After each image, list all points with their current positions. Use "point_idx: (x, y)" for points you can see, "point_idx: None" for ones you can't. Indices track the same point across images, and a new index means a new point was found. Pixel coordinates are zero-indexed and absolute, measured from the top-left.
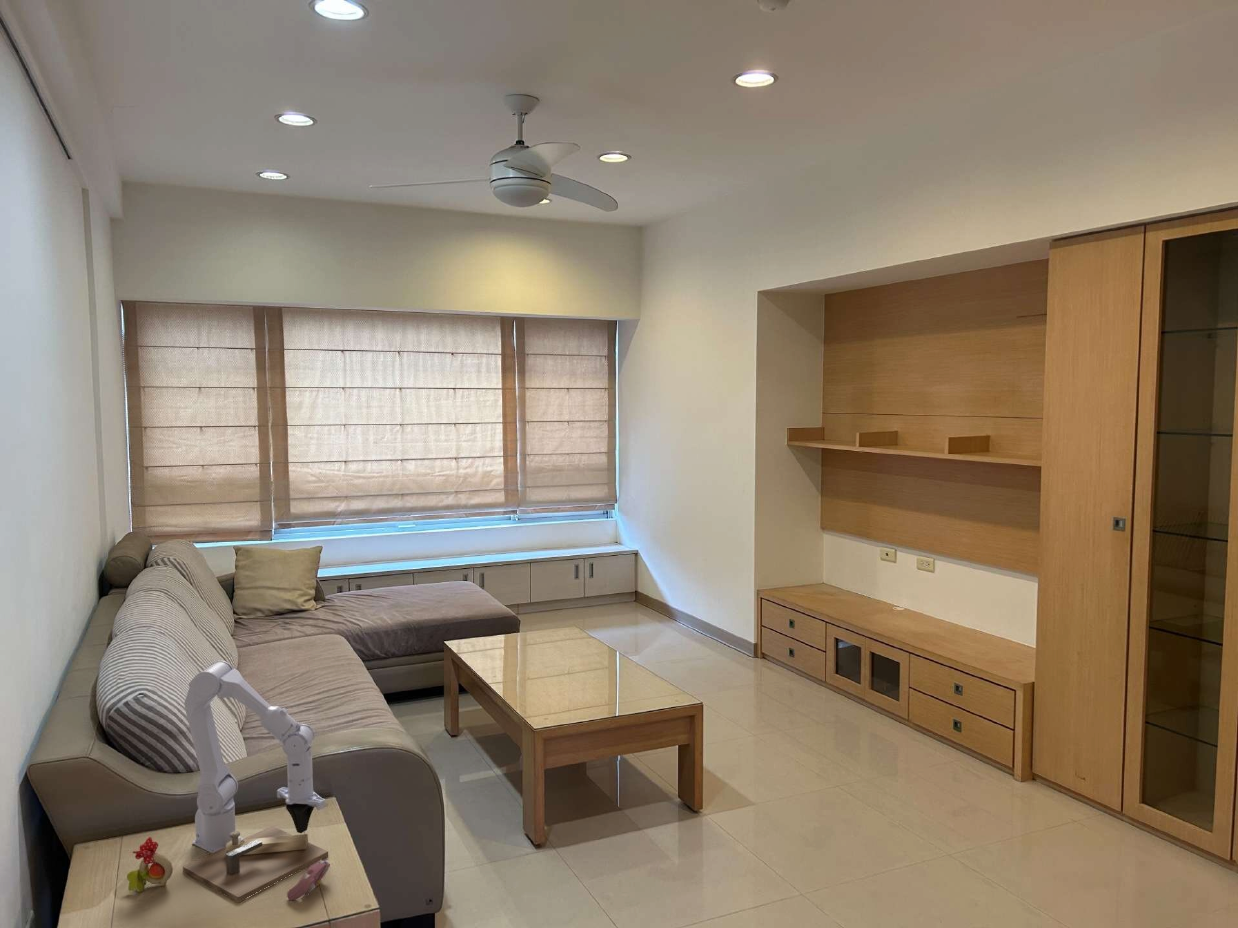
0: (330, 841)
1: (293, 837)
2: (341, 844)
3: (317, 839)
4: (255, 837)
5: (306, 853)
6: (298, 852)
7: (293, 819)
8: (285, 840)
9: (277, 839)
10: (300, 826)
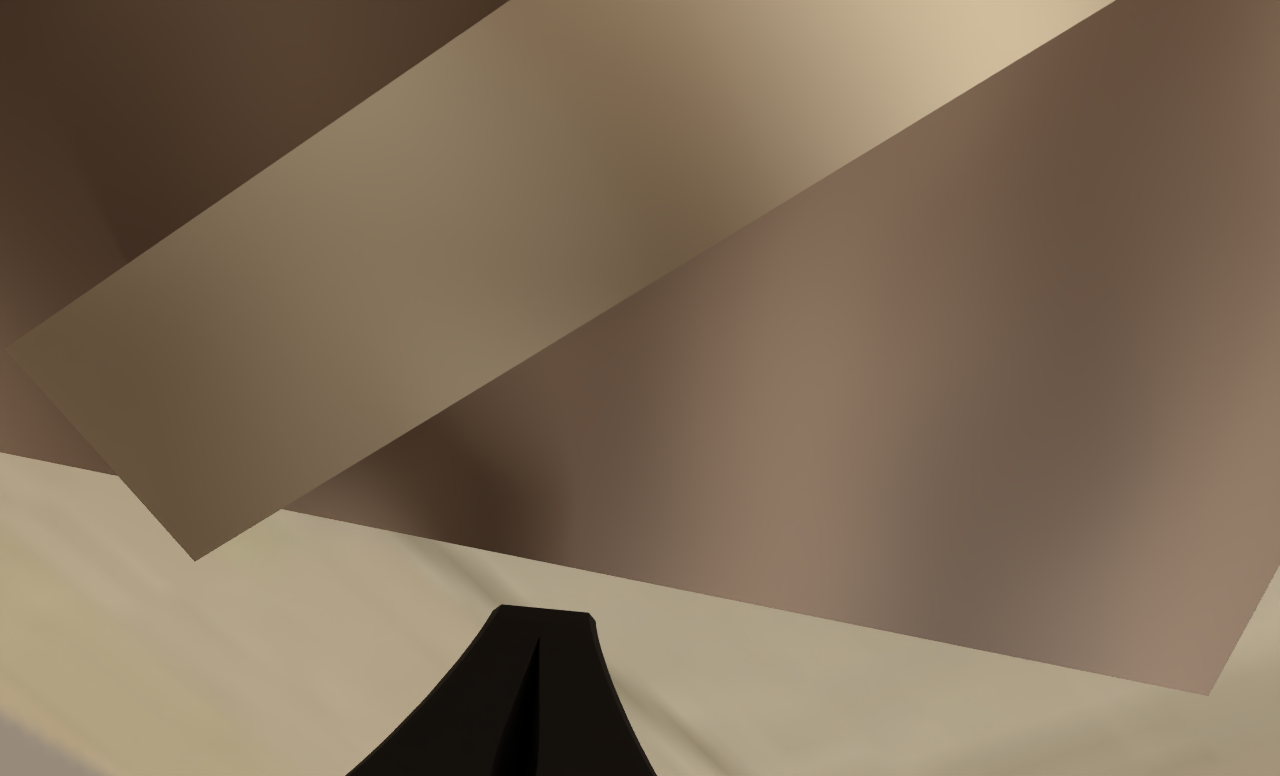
0: (202, 691)
1: (340, 340)
2: (4, 682)
3: (404, 673)
4: (1270, 342)
5: (56, 225)
6: (213, 204)
7: (616, 761)
8: (406, 173)
9: (609, 136)
10: (447, 675)
